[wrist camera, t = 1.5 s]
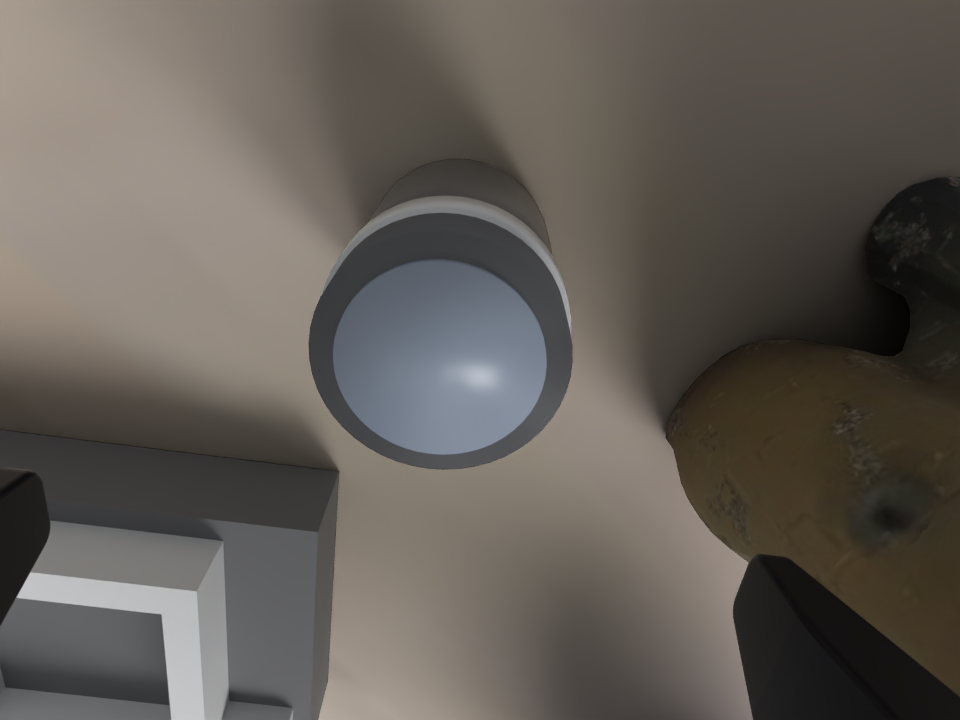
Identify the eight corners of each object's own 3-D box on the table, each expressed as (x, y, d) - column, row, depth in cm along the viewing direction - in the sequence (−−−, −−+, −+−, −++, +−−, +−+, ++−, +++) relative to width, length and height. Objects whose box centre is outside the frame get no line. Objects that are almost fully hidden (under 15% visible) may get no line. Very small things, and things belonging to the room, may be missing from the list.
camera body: (338, 471, 23) (299, 582, 18) (327, 680, 27) (294, 811, 23) (-98, 418, 22) (-247, 518, 18) (-37, 640, 27) (-145, 765, 22)
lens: (567, 169, 18) (605, 250, 12) (535, 345, 21) (552, 493, 14) (372, 141, 18) (303, 209, 12) (361, 322, 21) (297, 462, 14)
